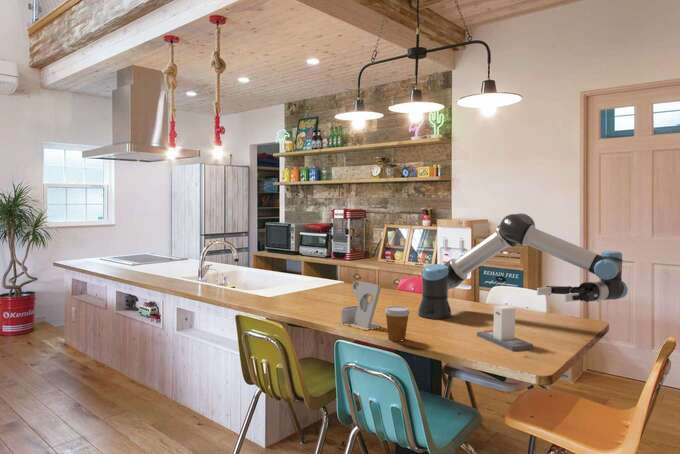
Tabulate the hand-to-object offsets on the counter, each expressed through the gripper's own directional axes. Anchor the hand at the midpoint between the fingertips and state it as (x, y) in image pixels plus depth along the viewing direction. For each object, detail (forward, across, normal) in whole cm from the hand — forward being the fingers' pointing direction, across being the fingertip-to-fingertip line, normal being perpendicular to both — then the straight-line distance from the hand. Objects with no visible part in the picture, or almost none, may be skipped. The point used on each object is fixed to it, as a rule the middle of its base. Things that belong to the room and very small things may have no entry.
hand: (550, 294), depth 185 cm
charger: (+20, +1, -17) cm, 26 cm away
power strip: (+20, +1, -18) cm, 27 cm away
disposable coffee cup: (+54, +22, -18) cm, 61 cm away
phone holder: (+59, +46, -18) cm, 77 cm away
